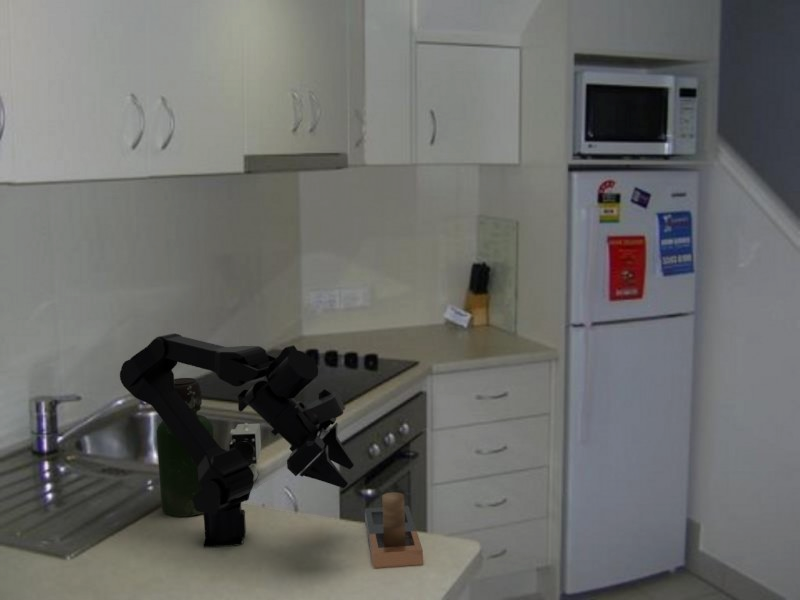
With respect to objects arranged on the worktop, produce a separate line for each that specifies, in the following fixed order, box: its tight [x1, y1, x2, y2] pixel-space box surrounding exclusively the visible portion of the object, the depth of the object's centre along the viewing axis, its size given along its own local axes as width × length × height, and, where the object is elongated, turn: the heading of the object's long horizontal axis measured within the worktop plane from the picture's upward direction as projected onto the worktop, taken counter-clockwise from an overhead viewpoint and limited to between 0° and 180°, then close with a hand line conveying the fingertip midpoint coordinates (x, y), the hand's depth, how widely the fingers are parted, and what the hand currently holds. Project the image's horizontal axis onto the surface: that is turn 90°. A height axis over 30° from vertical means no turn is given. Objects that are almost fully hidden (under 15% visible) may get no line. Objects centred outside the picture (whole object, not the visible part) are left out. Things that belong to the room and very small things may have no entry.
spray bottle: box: [156, 377, 215, 517], centre depth 174 cm, size 10×10×25 cm
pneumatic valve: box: [228, 422, 262, 482], centre depth 191 cm, size 6×12×12 cm, turn 2°
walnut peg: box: [381, 491, 406, 548], centre depth 151 cm, size 4×4×10 cm
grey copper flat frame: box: [364, 505, 424, 569], centre depth 157 cm, size 8×20×2 cm, turn 6°
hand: (349, 476), depth 151 cm, fingers open, 9 cm apart
